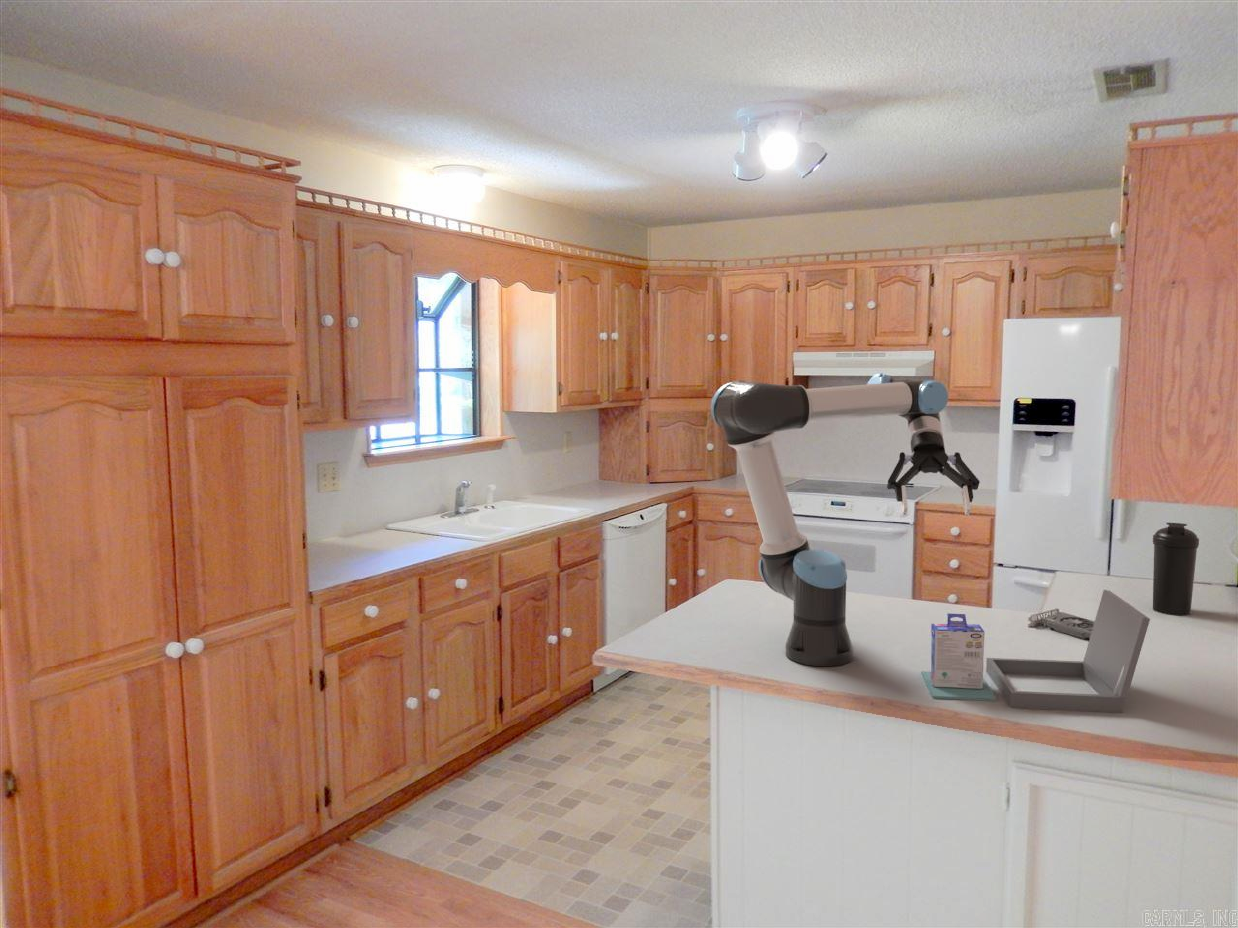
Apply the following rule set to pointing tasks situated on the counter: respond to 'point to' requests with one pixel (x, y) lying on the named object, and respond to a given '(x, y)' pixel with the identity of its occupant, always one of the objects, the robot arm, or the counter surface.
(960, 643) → the ink cartridge box
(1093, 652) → the equipment case
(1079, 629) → the graphics card
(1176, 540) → the water bottle
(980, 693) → the teal mat
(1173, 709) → the counter surface
